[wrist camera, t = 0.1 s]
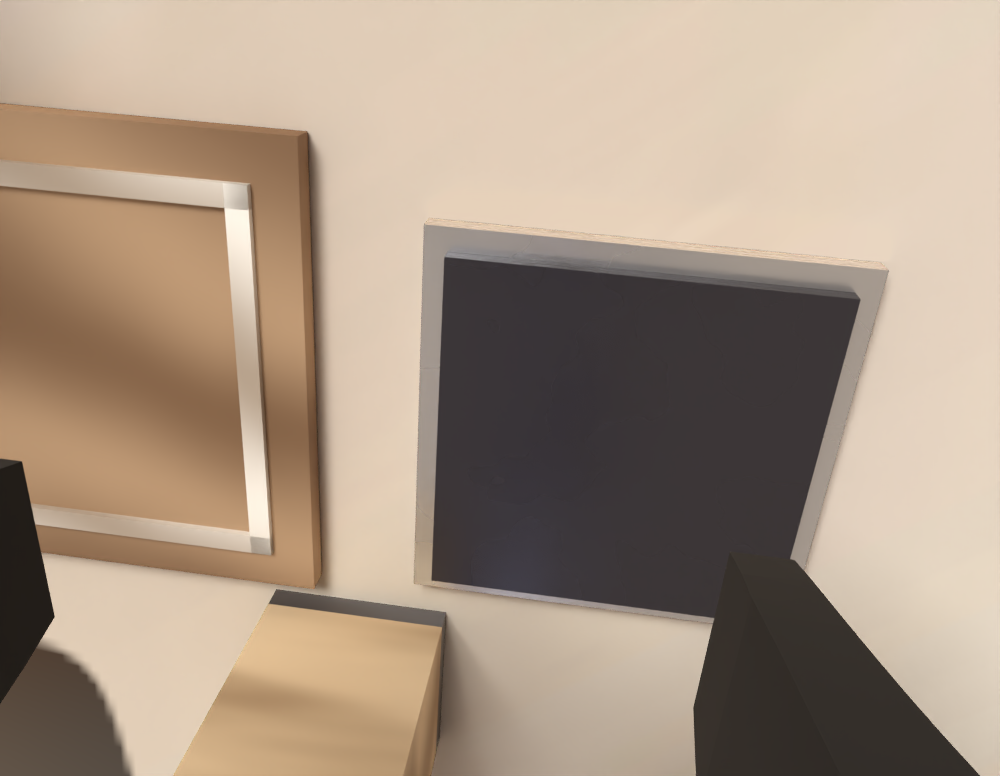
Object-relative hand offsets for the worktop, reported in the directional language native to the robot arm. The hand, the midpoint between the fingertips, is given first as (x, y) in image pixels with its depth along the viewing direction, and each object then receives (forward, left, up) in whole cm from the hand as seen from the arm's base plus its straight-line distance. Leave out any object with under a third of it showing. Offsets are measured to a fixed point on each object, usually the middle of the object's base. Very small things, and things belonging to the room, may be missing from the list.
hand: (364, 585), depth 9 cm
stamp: (-11, +3, -10) cm, 15 cm away
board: (-3, +9, -10) cm, 14 cm away
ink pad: (-3, -3, -10) cm, 11 cm away
